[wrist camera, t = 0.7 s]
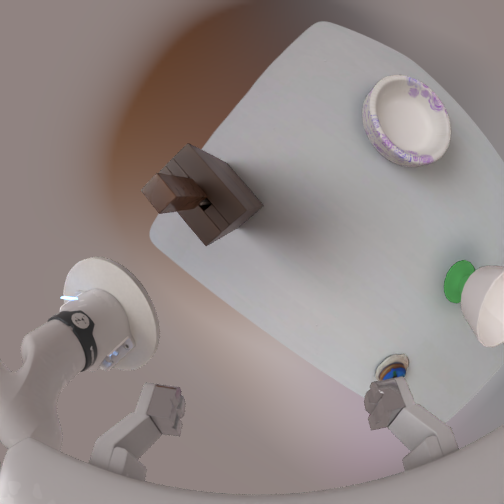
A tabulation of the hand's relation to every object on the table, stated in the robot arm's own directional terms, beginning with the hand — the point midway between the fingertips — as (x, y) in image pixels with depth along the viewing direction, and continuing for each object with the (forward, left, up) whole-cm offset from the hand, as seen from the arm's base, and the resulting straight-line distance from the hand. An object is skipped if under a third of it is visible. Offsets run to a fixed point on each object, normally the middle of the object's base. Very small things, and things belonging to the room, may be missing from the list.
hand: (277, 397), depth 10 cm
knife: (+1, +13, -27) cm, 30 cm away
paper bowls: (+29, -3, -38) cm, 48 cm away
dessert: (-7, -34, -38) cm, 51 cm away
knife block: (+1, +13, -37) cm, 39 cm away
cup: (+16, -33, -38) cm, 53 cm away
